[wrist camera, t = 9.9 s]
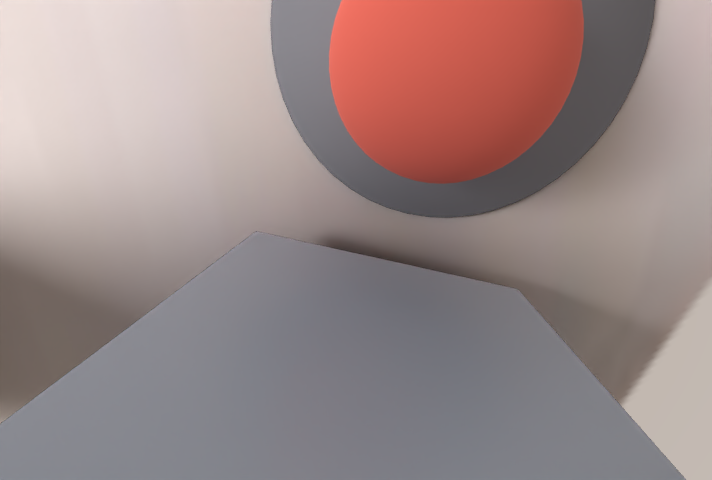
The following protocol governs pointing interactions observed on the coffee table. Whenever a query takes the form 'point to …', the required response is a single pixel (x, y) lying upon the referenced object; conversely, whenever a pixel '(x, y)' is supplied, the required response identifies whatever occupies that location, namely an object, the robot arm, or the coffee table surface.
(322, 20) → the disc
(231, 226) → the coffee table surface
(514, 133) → the ball
